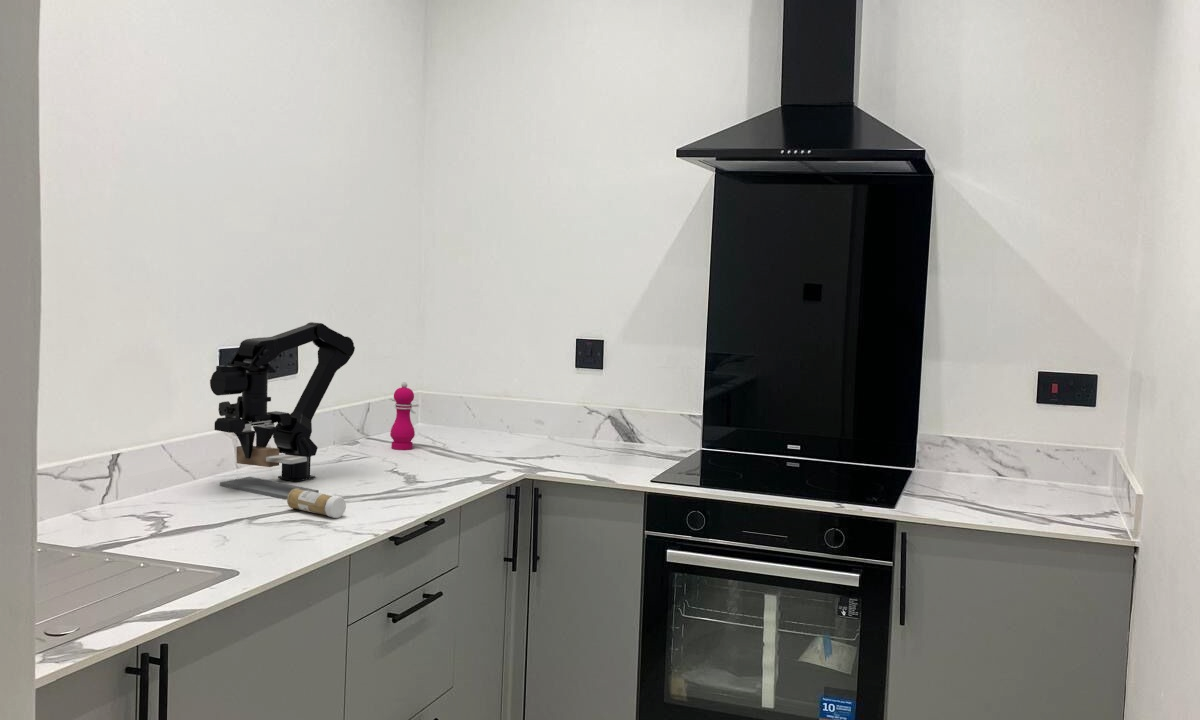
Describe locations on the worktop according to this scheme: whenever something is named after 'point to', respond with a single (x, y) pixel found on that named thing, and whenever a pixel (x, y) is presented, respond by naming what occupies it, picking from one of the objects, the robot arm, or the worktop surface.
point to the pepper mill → (403, 419)
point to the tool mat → (263, 487)
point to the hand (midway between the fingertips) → (253, 457)
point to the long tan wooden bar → (266, 457)
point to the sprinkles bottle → (316, 503)
